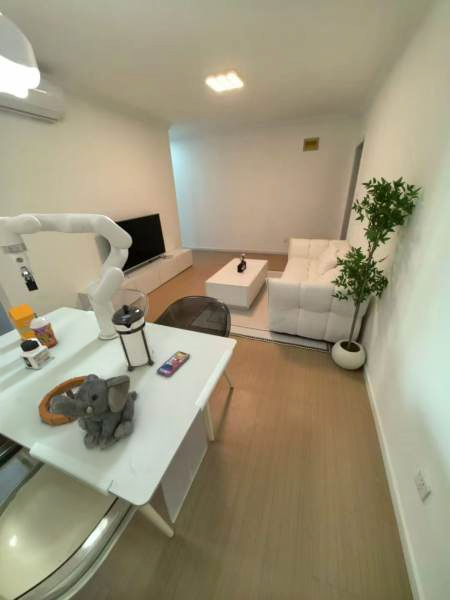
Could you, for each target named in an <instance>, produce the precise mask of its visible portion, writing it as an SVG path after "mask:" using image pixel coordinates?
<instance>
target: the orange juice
mask: <svg viewBox="0 0 450 600" xmlns="http://www.w3.org/2000/svg"><path fill="white" fill-rule="evenodd" d="M7 312H8V315H9V318H10V320H11V322H12V324H13V325H14V327H15V329H16V331H17V333H18V334H19V336H20V337H21V340H23V341H25V340H28V339H31V338H36V339H37V337H36V336H35V334H34V333H33V331H32V329H31V328H30V323H31V321H32V320H33V319H34V318H36V317H35V315H34V313H35V312H34V311H33V310H32V308H31V306H30V305H29V303H27V302H26V303H23V304H20V305H17V306H15V307H12V308H9V309H7Z"/></svg>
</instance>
